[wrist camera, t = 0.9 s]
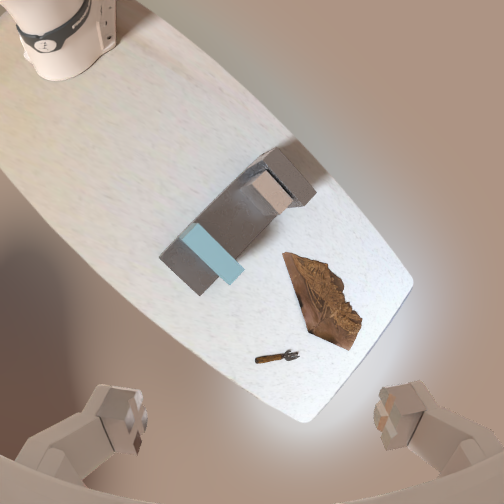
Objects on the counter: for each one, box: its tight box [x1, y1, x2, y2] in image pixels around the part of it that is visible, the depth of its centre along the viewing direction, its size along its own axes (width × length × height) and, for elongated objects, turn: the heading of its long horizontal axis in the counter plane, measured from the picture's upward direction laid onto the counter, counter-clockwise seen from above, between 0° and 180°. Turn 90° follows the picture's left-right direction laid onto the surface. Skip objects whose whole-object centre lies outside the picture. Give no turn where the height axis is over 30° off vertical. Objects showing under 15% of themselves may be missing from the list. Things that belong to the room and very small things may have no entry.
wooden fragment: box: [282, 252, 362, 351], centre depth 59 cm, size 26×11×1 cm, turn 35°
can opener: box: [255, 351, 299, 364], centre depth 58 cm, size 9×2×1 cm, turn 85°
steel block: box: [240, 170, 293, 216], centre depth 49 cm, size 3×6×7 cm, turn 45°
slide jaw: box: [179, 223, 245, 285], centre depth 46 cm, size 3×9×8 cm, turn 45°
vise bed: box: [159, 147, 317, 296], centre depth 48 cm, size 24×9×10 cm, turn 135°
